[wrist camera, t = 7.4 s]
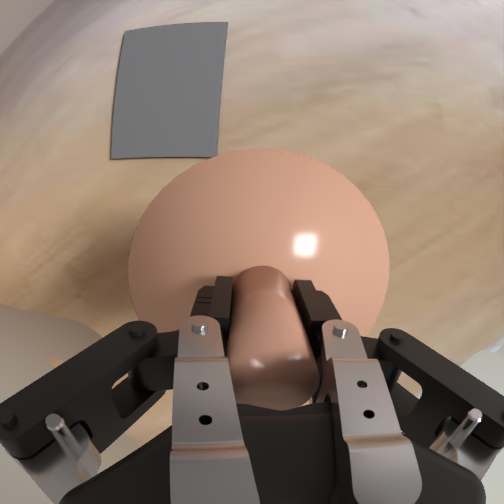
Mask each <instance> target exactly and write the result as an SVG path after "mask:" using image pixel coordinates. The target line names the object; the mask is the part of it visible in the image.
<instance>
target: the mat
mask: <svg viewBox="0 0 504 504" xmlns="http://www.w3.org/2000/svg"><path fill="white" fill-rule="evenodd" d="M227 27H228V22H202V23H184V24H172V25H163V26H155V27H148V28H141V29H135V30H129V31H125V35H124V40H123V45H122V51H121V57H120V63H119V69H118V76H117V84H116V92H115V102H114V113H113V126H112V145H111V159H118V158H139V157H215V156H217V147H218V131H219V116H220V102H221V90H222V78H223V67H224V56H225V46H226V36H227Z"/></svg>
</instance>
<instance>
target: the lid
mask: <svg viewBox="0 0 504 504" xmlns="http://www.w3.org/2000/svg"><path fill="white" fill-rule="evenodd" d="M217 276H233V290H232V302H231V313H230V325H229V337H228V340H227V347H226V356H227V358H228V363H229V369H230V374H231V380H232V385H233V391H234V396H235V401H236V404H249V405H254V406H259V407H264V408H269V409H274V410H281V411H282V410H288V409H293V408H297V407H299V406H301V405H303V404H304V403H306V402H307V401H308V400H309V399H310V398H311V397H312V396H313V395H314V394H315V392H316V390H317V388H318V386H319V382H320V375H319V371H318V368H317V364H316V361H315V358H314V355H313V352H312V349H311V345H310V342H309V339H308V336H307V333H306V330H305V327H304V324H303V321H302V318H301V315H300V312H299V309H298V306H297V303H296V300H295V297H294V294H293V291H292V290H293V283H294V280H295V279H298V280H311V281H312V283H313V285H314V287H315V289H316V290H319V291H323V292H324V293H326V294H327V295H328V296H329V297H330V298H331V300H332V303H333V304H334V306H335V308H336V309H337V311H338V313H339V315H340V316H341V318H342V320H344V321H347V322H350V323H352V324H353V325H355V326H356V327H357V329H358V331H359V333H360V336H363V337H366V335H367V334H368V332H369V331H370V329H371V328H372V326H373V325H374V323H375V321H376V319H377V317H378V315H379V313H380V311H381V308H382V305H383V302H384V299H385V296H386V291H387V286H388V281H389V253H388V247H387V242H386V238H385V234H384V231H383V229H382V226H381V223H380V221H379V218H378V217H377V215H376V213H375V211H374V210H373V208H372V206H371V205H370V203H369V202H368V200H367V199H366V198H365V197H364V195H363V194H362V193H361V192H360V190H359V189H358V188H357V187H355V186H354V185H353V184H352V183H351V182H350V181H349V180H348V179H347V178H346V177H344V176H343V175H341V174H340V173H339V172H337V171H336V170H334V169H333V168H331V167H330V166H328V165H326V164H323V163H321V162H319V161H317V160H315V159H313V158H310V157H307V156H304V155H301V154H297V153H294V152H289V151H283V150H276V149H247V150H240V151H233V152H229V153H225V154H222V155H218V156H215V157H212V158H209V159H207V160H205V161H203V162H201V163H199V164H196V165H194V166H192V167H191V168H189V169H188V170H186V171H185V172H183V173H182V174H180V175H179V176H177V177H176V178H175V179H173V180H172V181H171V182H170V183H169V184H168V185H167V186H165V187H164V188H163V189H162V190H161V191H160V193H159V194H158V195H157V196H156V197H155V198H154V200H153V201H152V202H151V203H150V205H149V206H148V208H147V210H146V211H145V213H144V214H143V216H142V218H141V219H140V222H139V224H138V226H137V229H136V231H135V234H134V236H133V240H132V244H131V248H130V252H129V261H128V283H129V290H130V295H131V300H132V303H133V306H134V309H135V312H136V314H137V317H138V319H139V321H146V322H150V323H152V324H153V325H155V327H156V328H157V333H163V332H172V331H176V330H178V329H179V328H180V323H181V322H182V321H183V320H184V319H186V318H188V317H190V314H191V311H192V308H193V305H194V302H195V298H196V295H197V292H198V290H199V289H201V288H202V287H203V286H215V281H216V277H217Z"/></svg>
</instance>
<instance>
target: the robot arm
mask: <svg viewBox="0 0 504 504" xmlns="http://www.w3.org/2000/svg"><path fill="white" fill-rule="evenodd" d="M232 290H233V276H217V277H216V281H215V286H203V287H202V288H201V289H199V290H198V292H197V295H196V298H195V302H194V305H193V308H192V311H191V314H190V317H188V318H186V319H184V320H183V321H182V322H181V323H180V328H179V329H178V330H176V331H172V332H163V333H157V328H156V327H155V325H153V324H152V323H150V322H146V321H132V322H129V323H126V324H124V325H122V326H121V327H119V328H118V329H116V330H115V331H113V332H111V333H110V334H108V335H107V336H105V337H104V338H102V339H100V340H99V341H97V342H96V343H94V344H92V345H91V346H89V347H88V348H86V349H85V350H83V351H81V352H80V353H78V354H77V355H75V356H74V357H72V358H70V359H69V360H68V361H66V362H64V363H63V364H61V365H60V366H58V367H56V368H55V369H53V370H52V371H50V372H49V373H47V374H45V375H44V376H42V377H41V378H39V379H38V380H36V381H35V382H33V383H32V384H30V385H28V386H27V387H25V388H24V389H22V390H21V391H19V392H18V393H16V394H15V395H13V396H11V397H10V398H8V399H7V400H5V401H4V402H2V403H1V404H0V443H1V444H2V445H3V447H4V448H5V450H6V451H7V453H8V454H9V455H10V456H11V457H12V458H13V459H14V460H15V461H16V463H17V464H19V466H20V467H21V468H22V469H23V470H24V471H25V472H26V473H28V474H29V475H30V476H31V477H32V478H33V480H34V481H35V482H36V484H37V485H38V486H39V487H40V488H41V489H42V490H43V492H44V493H45V494H46V495H47V496H48V497H49V498H50V499H51V501H52V502H53V503H54V504H485V503H486V495H485V490H484V486H483V484H482V482H481V479H482V478H483V476H484V475H485V473H486V472H487V470H488V469H489V467H490V465H491V464H492V462H493V460H494V458H495V457H496V455H497V454H498V453H499V452H500V451H501V450H502V449H503V448H504V396H502V395H501V394H499V393H498V392H497V391H495V390H494V389H492V388H491V387H489V386H488V385H486V384H485V383H483V382H482V381H480V380H479V379H477V378H476V377H474V376H473V375H471V374H470V373H468V372H466V371H465V370H463V369H462V368H460V367H459V366H457V365H456V364H454V363H453V362H451V361H450V360H448V359H447V358H445V357H444V356H442V355H440V354H439V353H437V352H436V351H434V350H433V349H431V348H430V347H428V346H427V345H425V344H423V343H422V342H420V341H419V340H417V339H416V338H414V337H413V336H411V335H409V334H408V333H406V332H404V331H402V330H399V329H395V328H388V329H384V330H382V331H381V332H380V335H379V338H378V339H376V338H369V337H363V336H360V333H359V331H358V329H357V327H356V326H355V325H353V324H352V323H350V322H347V321H344V320H342V318H341V316H340V315H339V313H338V311H337V309H336V308H335V306H334V304H333V303H332V300H331V298H330V297H329V296H328V295H327V294H326V293H324V292H323V291H319V290H316V289H315V287H314V285H313V283H312V281H311V280H298V279H295V280H294V283H293V290H292V291H293V294H294V297H295V300H296V303H297V306H298V309H299V312H300V315H301V318H302V321H303V324H304V327H305V330H306V333H307V336H308V339H309V342H310V345H311V349H312V352H313V355H314V358H315V361H316V364H317V368H318V371H319V375H320V382H319V386H318V388H317V390H316V392H315V394H314V395H313V396H312V397H311V398H310V399H309V405H305V406H301V407H297V408H293V409H288V410H282V411H281V410H274V409H269V408H264V407H259V406H254V405H249V404H236V401H235V396H234V391H233V385H232V380H231V374H230V369H229V363H228V358H227V356H226V347H227V340H228V337H229V325H230V313H231V302H232ZM402 371H403V372H404V373H406V374H407V375H408V376H410V377H411V378H412V379H414V380H415V381H416V382H418V383H419V384H420V385H421V387H422V396H421V398H420V399H418V398H417V397H415V396H414V395H413V394H411V393H410V392H409V391H407V390H406V389H405V388H404V387H402V386H401V385H400V384H398V383H397V381H398V378H399V376H400V374H401V372H402ZM126 373H128V377H127V378H126V379H124V380H123V381H122V382H121V383H119V384H118V385H117V386H115V387H114V388H113V389H112V386H113V385H114V383H115V382H116V381H117V380H119V379H120V378H121V377H123V376H124V375H125V374H126ZM111 389H112V390H111ZM170 389H173V409H172V425H171V426H170V427H169V428H167V429H166V430H164V431H163V432H162V433H160V434H159V435H157V436H156V437H155V438H153V439H152V440H150V441H149V442H147V443H146V444H144V445H143V446H141V447H140V448H138V449H137V450H135V451H134V452H132V453H131V454H129V455H128V456H126V457H125V458H123V459H122V460H120V461H119V462H117V463H115V464H114V465H112V466H110V467H109V468H107V469H106V470H104V471H102V472H101V473H99V474H97V472H98V469H99V467H100V465H101V456H100V453H102V452H103V451H104V450H105V449H106V448H107V447H109V445H111V444H112V443H113V442H114V441H115V440H116V439H117V438H118V437H119V436H121V435H122V434H123V433H124V432H125V431H126V430H127V429H128V428H129V427H130V426H131V425H133V424H134V423H135V422H136V421H137V420H138V419H139V418H140V417H141V416H142V415H143V414H144V413H145V412H146V411H147V410H148V409H150V408H151V407H152V406H153V405H154V404H155V403H156V402H157V401H158V400H159V399H160V398H161V397H162V396H163V395H164V394H165V392H166V390H170ZM401 431H403V432H404V433H405V434H404V433H403V432H401Z"/></svg>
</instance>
